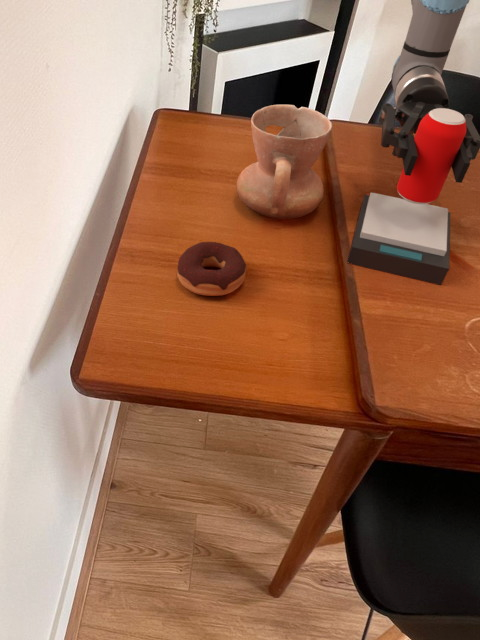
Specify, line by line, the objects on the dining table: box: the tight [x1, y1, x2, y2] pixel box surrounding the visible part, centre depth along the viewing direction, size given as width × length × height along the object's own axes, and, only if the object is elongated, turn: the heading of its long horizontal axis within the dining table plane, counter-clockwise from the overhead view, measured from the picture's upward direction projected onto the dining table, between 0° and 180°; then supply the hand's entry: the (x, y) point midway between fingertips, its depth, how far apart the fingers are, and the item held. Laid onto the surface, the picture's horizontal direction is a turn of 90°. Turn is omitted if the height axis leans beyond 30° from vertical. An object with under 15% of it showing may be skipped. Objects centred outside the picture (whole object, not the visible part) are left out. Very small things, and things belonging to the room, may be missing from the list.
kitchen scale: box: [346, 191, 452, 286], centre depth 83 cm, size 16×14×4 cm
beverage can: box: [396, 108, 466, 204], centre depth 74 cm, size 6×6×12 cm
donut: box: [176, 241, 247, 297], centre depth 75 cm, size 10×10×4 cm
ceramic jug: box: [236, 104, 333, 220], centre depth 85 cm, size 18×14×14 cm
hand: (437, 169), depth 70 cm, fingers closed on beverage can, 6 cm apart
